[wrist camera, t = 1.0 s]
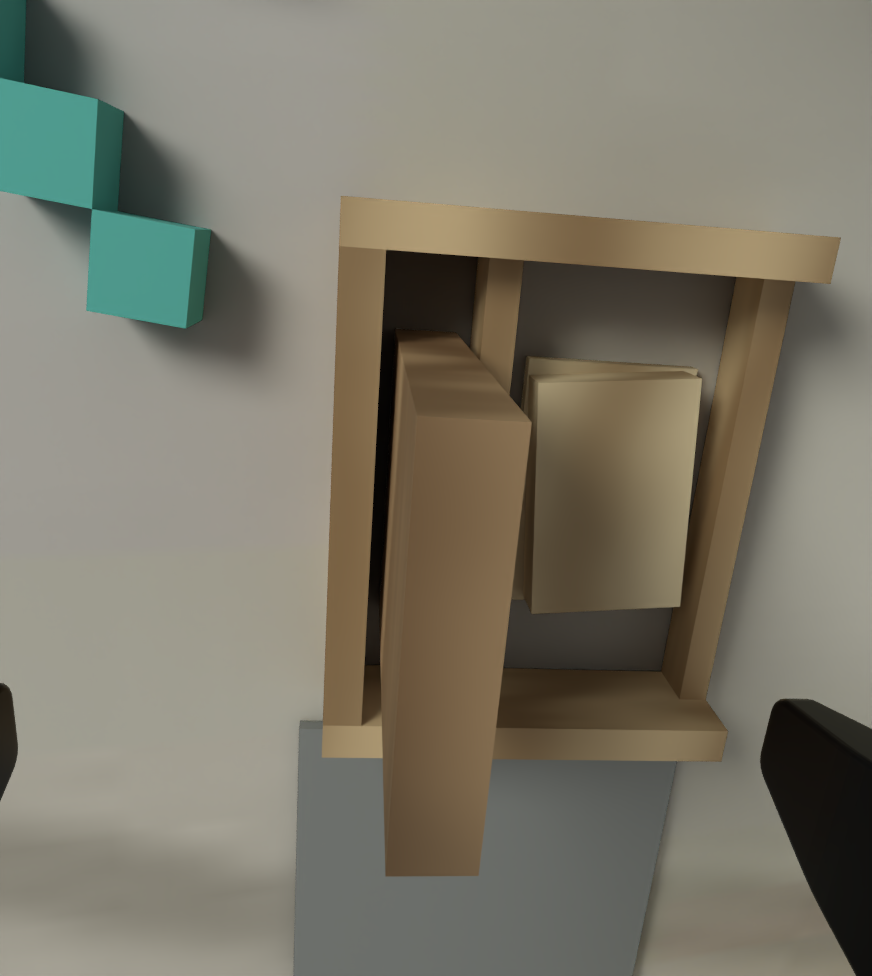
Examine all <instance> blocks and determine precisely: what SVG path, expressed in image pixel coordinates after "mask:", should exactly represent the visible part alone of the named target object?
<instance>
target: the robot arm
mask: <svg viewBox="0 0 872 976" xmlns="http://www.w3.org/2000/svg"><path fill="white" fill-rule="evenodd" d="M17 754H18V742H17V733H16V724H15V716H14V707H13V698H12V693H11V691H10V689H9V687H8V686H7V685H5V684H4V683H0V800H1V798H2V796H3V793H4V791H5V789H6V786H7V784H8V781H9V779H10V777H11V774H12V772H13V770H14V767H15V763H16V760H17ZM760 763H761V770H762V774H763V777H764V780H765V782H766V785H767V787H768V789H769V792H770V794H771V797H772V799H773V801H774V804H775V806H776V809H777V811H778V813H779V816H780V818H781V821H782V823H783V825H784V828H785V830H786V833H787V835H788V837H789V840H790V842H791V845H792V847H793V849H794V852H795V854H796V857H797V859H798V861H799V864H800V866H801V869H802V871H803V873H804V876H805V878H806V880H807V882H808V884H809V887H810V889H811V891H812V893H813V895H814V897H815V899H816V901H817V903H818V905H819V907H820V909H821V911H822V913H823V915H824V917H825V919H826V920H827V922H828V924H829V926H830V928H831V930H832V932H833V933H834V935H835V937H836V939H837V941H838V943H839V945H840V947H841V948H842V950H843V952H844V954H845V956H846V958H847V960H848V962H849V963H850V965H851V967H852V969H853V971H854V973H855V975H856V976H872V729H871V728H869V727H867V726H865V725H863V724H861V723H859V722H857V721H855V720H853V719H851V718H849V717H847V716H844V715H842V714H840V713H838V712H836V711H834V710H832V709H830V708H828V707H826V706H824V705H822V704H820V703H818V702H816V701H814V700H809V699H780V700H779V701H777V702H776V703H775V704H774V706H773V708H772V711H771V715H770V719H769V723H768V727H767V731H766V735H765V739H764V743H763V747H762V751H761V758H760Z"/></svg>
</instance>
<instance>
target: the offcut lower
mask: <svg viewBox="0 0 872 976" xmlns="http://www.w3.org/2000/svg"><path fill="white" fill-rule="evenodd" d="M661 371H685V372H687V373H690V374H692V375H695V376H697V371H698V369H696V368H693V367H686V366H671V365H656V364H641V363H626V362H611V361H596V360H581V359H565V358H550V357H535V356H527V357H526V366H525V374H524V383H523V392H522V401H521V410H522V411H523V413H524V414H525V415H526V416H527V417H528V394H529V375H543V374H582V373H622V372H661ZM526 469H527V468H526ZM525 506H526V476H525V485H524V493H523V502H522V510H521V519H520V527H519V536H518V544H517V553H516V561H515V570H514V579H513V587H512V596H511V600H525V598H524V596H523V581H524V544H525Z"/></svg>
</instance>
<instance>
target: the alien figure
mask: <svg viewBox="0 0 872 976" xmlns="http://www.w3.org/2000/svg"><path fill="white" fill-rule="evenodd" d="M25 30H26V0H0V191H3V192H8V193H13V194H18V195H24V196H29V197H34V198H39V199H44V200H49V201H54V202H59V203H64V204H69V205H74V206H79V207H84V208H89V209H92V216H91V234H90V253H89V271H88V290H87V308H86V311H91V312H97V313H102V314H108V315H113V316H119V317H124V318H130V319H136V320H141V321H147V322H152V323H158V324H163V325H169V326H174V327H180V328H185V329H186V328H188V327H190V326H192V325H194V324H196V323H198V322H199V321H201V320H202V317H203V307H204V297H205V286H206V276H207V266H208V256H209V246H210V236H211V230H210V229H205V228H200V227H195V226H190V225H185V224H180V223H175V222H170V221H165V220H160V219H155V218H150V217H145V216H140V215H135V214H130V213H125V212H120V211H118V197H119V182H120V166H121V151H122V135H123V120H124V111H121V110H119V109H117V108H115V107H113V106H111V105H109V104H107V103H105V102H103V101H101V100H99V99H95V98H90V97H86V96H81V95H76V94H72V93H67V92H63V91H58V90H53V89H49V88H44V87H39V86H35V85H30V84H26V83H24V66H25Z"/></svg>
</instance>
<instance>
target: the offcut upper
mask: <svg viewBox="0 0 872 976" xmlns="http://www.w3.org/2000/svg"><path fill="white" fill-rule="evenodd" d="M701 386H702V378H699V377H697V376H695V375H692V374H690V373H687V372H685V371H661V372H622V373H582V374H543V375H529V394H528V418H529V420H530V421H531V422H532V425H531V434H530V442H529V451H528V459H527V469H526V506H525V544H524V581H523V596H524V598H525V600H526V603H527V605H528V607H529V610H530V612H531V614H543V613H563V612H584V611H604V610H624V609H644V608H665V607H680V601H681V591H682V581H683V570H684V560H685V550H686V540H687V529H688V519H689V509H690V499H691V488H692V478H693V468H694V457H695V447H696V437H697V427H698V416H699V406H700V396H701Z"/></svg>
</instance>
